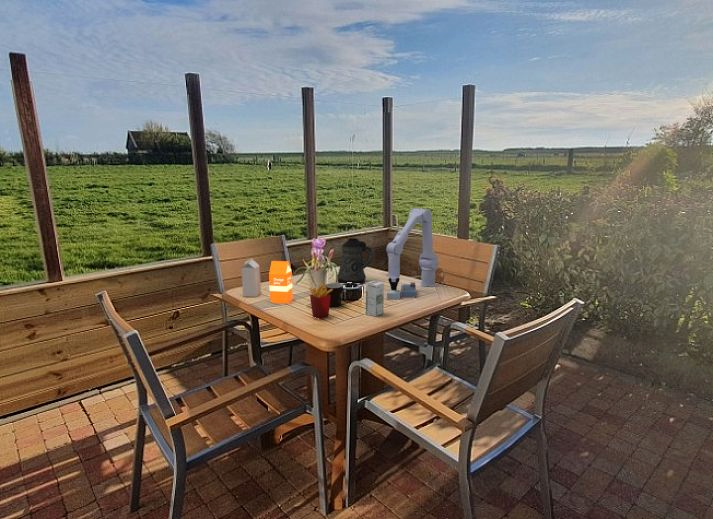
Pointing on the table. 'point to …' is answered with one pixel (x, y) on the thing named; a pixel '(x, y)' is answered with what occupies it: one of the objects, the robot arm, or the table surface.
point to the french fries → (320, 301)
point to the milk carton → (251, 279)
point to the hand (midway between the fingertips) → (393, 292)
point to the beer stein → (353, 261)
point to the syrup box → (374, 298)
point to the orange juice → (280, 282)
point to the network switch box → (408, 290)
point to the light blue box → (393, 294)
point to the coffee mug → (335, 294)
